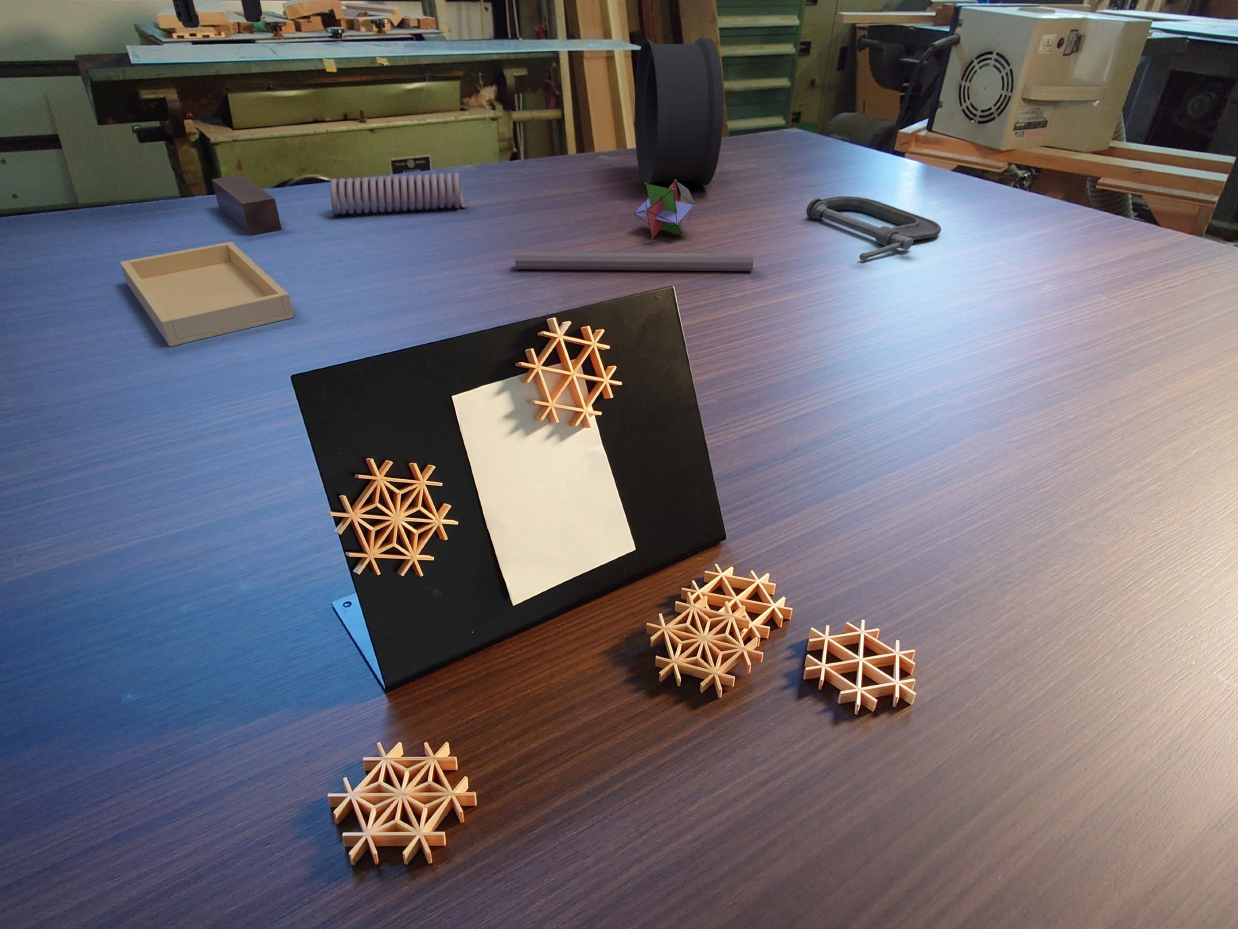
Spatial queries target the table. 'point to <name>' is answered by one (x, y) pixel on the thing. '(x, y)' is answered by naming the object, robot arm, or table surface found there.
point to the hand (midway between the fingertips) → (223, 24)
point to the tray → (205, 292)
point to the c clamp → (890, 237)
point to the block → (247, 204)
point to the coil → (396, 193)
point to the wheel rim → (678, 111)
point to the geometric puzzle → (665, 207)
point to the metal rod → (634, 261)
